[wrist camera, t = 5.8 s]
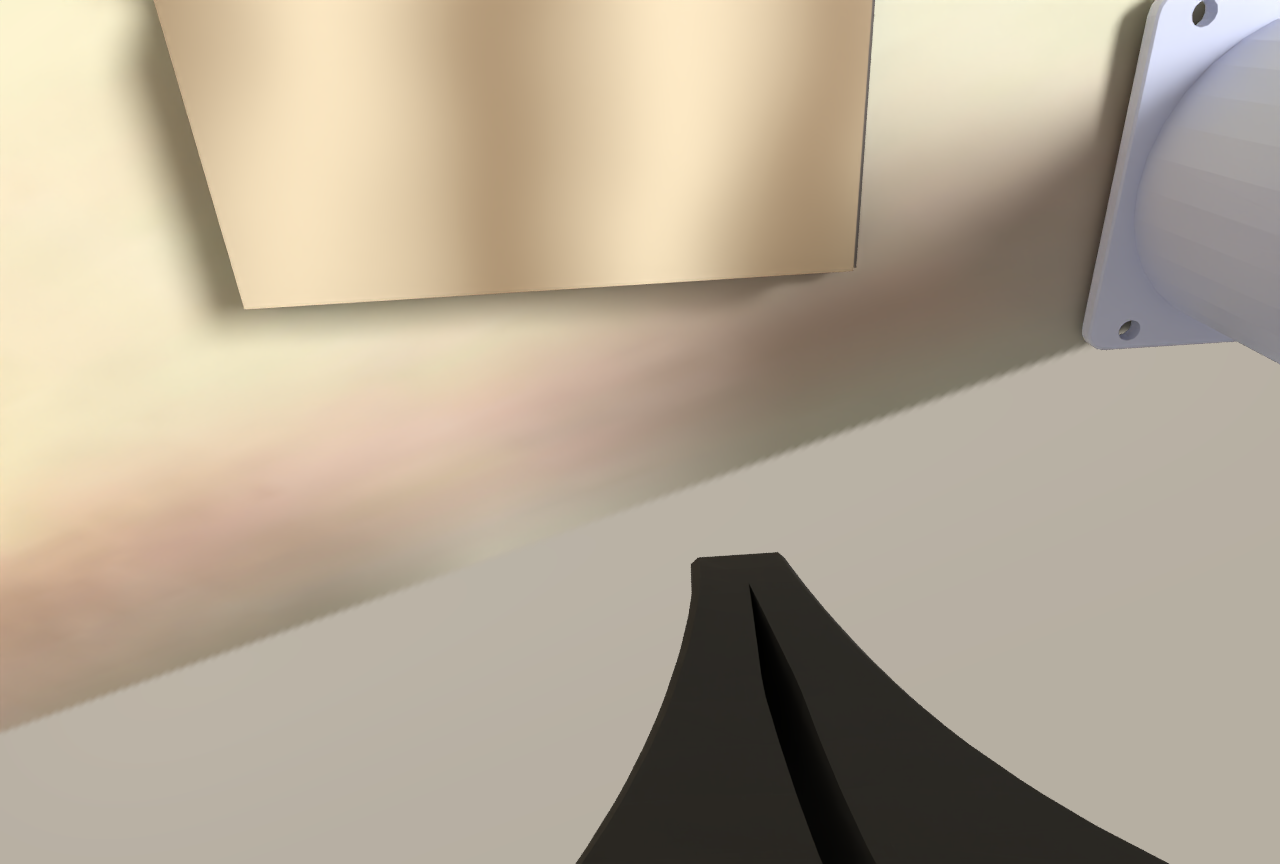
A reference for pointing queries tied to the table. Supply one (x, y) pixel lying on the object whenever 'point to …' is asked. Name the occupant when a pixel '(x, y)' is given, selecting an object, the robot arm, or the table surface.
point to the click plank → (522, 141)
